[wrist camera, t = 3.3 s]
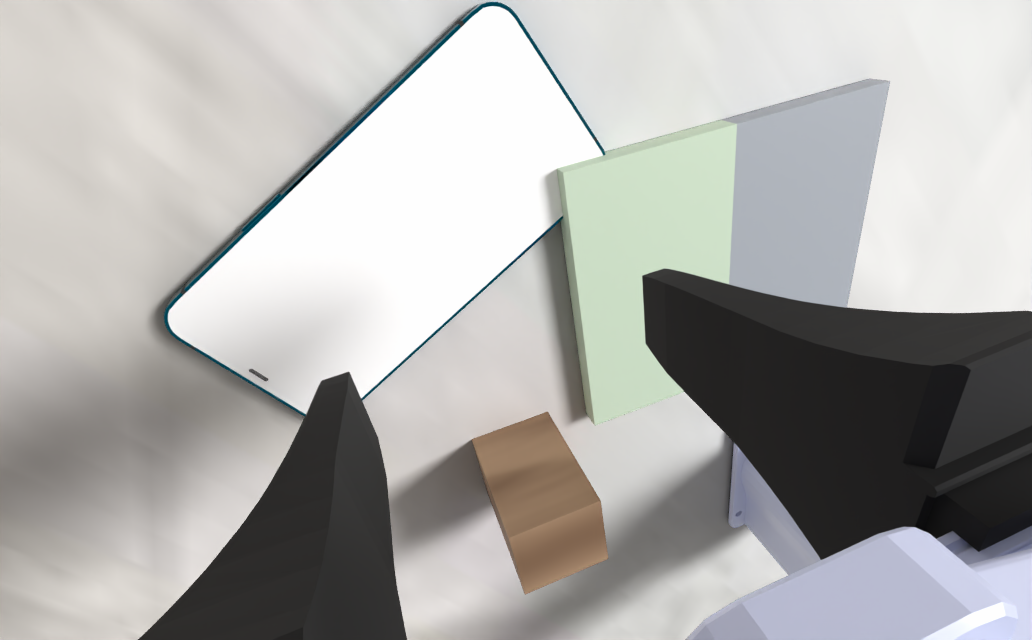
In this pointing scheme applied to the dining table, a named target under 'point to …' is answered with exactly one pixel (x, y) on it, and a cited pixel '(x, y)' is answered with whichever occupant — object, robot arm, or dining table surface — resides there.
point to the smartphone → (393, 219)
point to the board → (714, 224)
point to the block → (541, 501)
